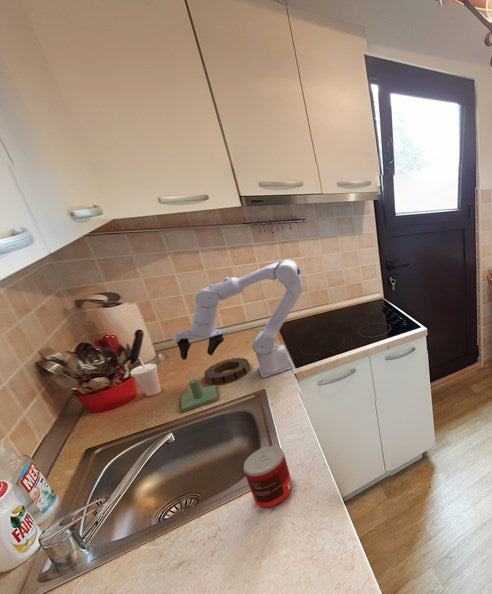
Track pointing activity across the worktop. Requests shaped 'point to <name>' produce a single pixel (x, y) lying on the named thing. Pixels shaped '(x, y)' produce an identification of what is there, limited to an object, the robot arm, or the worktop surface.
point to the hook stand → (197, 396)
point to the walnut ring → (219, 378)
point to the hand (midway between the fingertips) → (196, 356)
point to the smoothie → (147, 378)
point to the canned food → (268, 476)
